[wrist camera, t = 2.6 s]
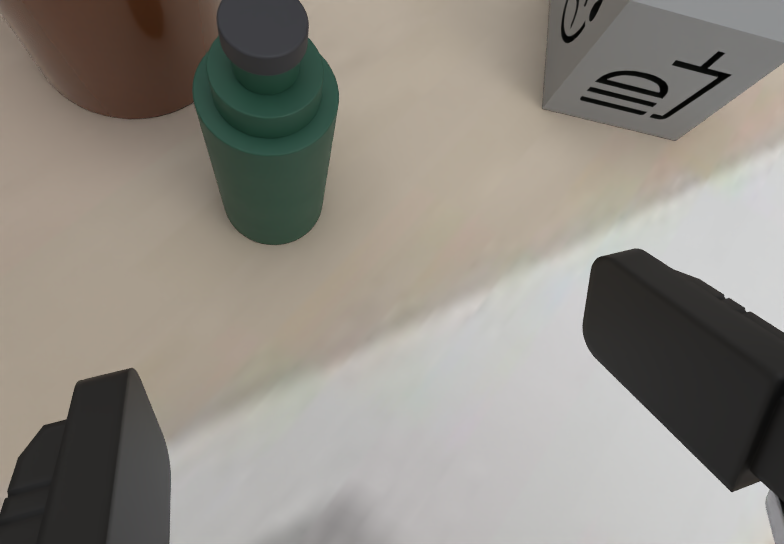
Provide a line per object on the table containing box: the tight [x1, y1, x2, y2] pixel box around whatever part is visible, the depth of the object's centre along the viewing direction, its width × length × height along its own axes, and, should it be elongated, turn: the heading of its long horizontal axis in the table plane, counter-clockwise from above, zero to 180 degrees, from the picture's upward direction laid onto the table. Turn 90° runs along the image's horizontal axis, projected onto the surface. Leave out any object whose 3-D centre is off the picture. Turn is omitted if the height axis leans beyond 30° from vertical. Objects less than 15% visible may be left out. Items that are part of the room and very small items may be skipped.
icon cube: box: [542, 0, 784, 141], centre depth 34 cm, size 10×10×10 cm
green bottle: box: [192, 0, 339, 245], centre depth 25 cm, size 6×6×15 cm
